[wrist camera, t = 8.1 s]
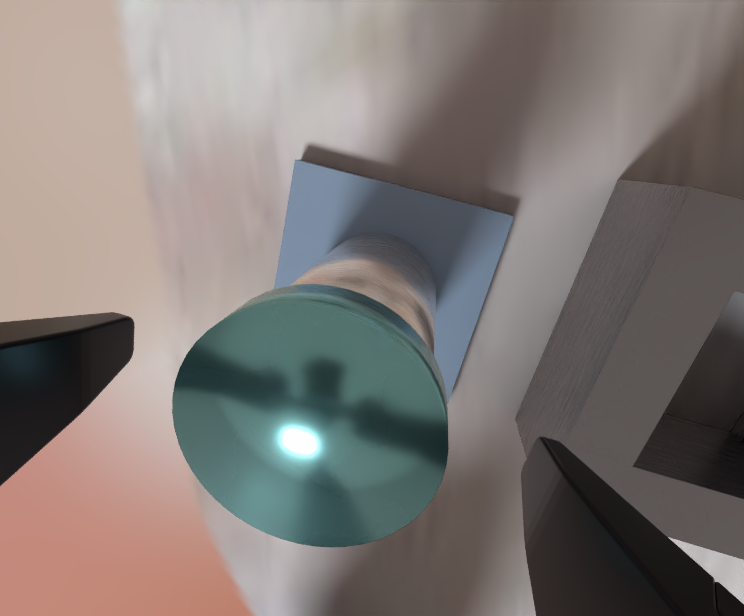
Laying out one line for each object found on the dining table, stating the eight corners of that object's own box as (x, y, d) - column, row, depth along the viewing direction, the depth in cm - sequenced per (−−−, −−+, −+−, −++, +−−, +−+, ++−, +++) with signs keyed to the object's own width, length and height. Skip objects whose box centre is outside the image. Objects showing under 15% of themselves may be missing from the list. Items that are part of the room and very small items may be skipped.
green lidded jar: (422, 368, 17) (404, 578, 9) (300, 333, 17) (163, 501, 9) (462, 245, 15) (490, 354, 7) (325, 208, 16) (182, 267, 7)
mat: (446, 398, 18) (446, 406, 18) (269, 347, 19) (263, 353, 18) (511, 214, 15) (514, 216, 15) (300, 159, 16) (295, 159, 15)
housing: (755, 488, 17) (857, 593, 13) (515, 418, 18) (538, 498, 14) (924, 256, 14) (1137, 297, 10) (618, 179, 14) (692, 186, 10)
